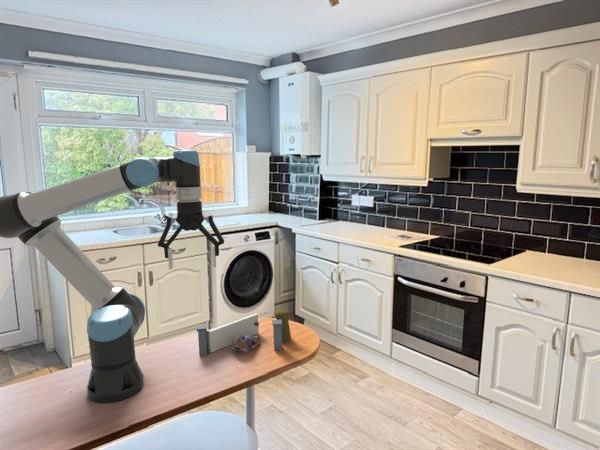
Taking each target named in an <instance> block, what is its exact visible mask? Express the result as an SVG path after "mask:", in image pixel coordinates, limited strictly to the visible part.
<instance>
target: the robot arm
mask: <svg viewBox="0 0 600 450" xmlns="http://www.w3.org/2000/svg"><path fill="white" fill-rule="evenodd" d="M173 182H174V183H175V195H176V196H175V197H176V198H175V199H176V200H177V202H176V212H177V214H176V215H177V216H171V215H169V216H168V217H166V224H165V228H164V229H163V231H162V234H161V236H160V238H159V241H158V243H157V247H159V248H163V250H164V258H165V259H168V269H169V270H172V269H173V268H174V263H173V259H174V258H173V246H171V244H172V243H173V242H174V240H175V239H176V238H177V237H178V235H179V234H180V233H181V232H182V231H185V232H189V231H197V230H198V231H199V232H201V233H202V235H204V236H205V237H206V239H208V240H209V241H210V242H211V243H212V247H211V249H212V250H211V251H212V267H213V268H216V267H217V257H218V256H219V255H220V246H221V245H224V244H225V239H224V237H223V236H222V234H221V232H220V230H219V228H218V227H217V225H216V223H215V221H214V216H213V215H212V214H209V215H207V216H206V215H205V216H204V214H203V205H202V201H201V199H202V186H201V185H202V184H201V164H200V155H199V152H198V151H197V150H194V149H190V150H189V149H185V150H184V149H181V150H179V149H178V150H177V149H176V150H173V154H172V156H168V157H167V156H163V157H162V156H161V157H160V156H154V157H153V156H151V157H150V156H140V157H135V158H133V159H132V160H131V161H127V162H125V163H122V164H118V165H115V166H112V167H109V168H106V169H103V170H100V171H96V172H94V173H90V174H87V175H85V176H81V177H79V178H76V179H73V180H70V181H66V182H63V183H61V184H58V185H54V186H51V187H48V188H46V189H45V188H44V189H42V190H39V191H36V192H34V191H22V192H18V193H14V194H10V195H5V196H4V195H3V196H0V238H6V239H15V238H18V239H19V240H20V241H21V242H22V243H23V244H24V245H25V246H27V247H28V246H30V247H35V249H36V250H37V251H38V252H39V253H41V255H42V256H43V257H44V258H45V260H47V261H48V262H49V263H50V264H51V265H52V266H53V267H54V269H56V270H57V271H58V272H59V274H61V276H62V277H64V278H65V280H66V281H67V282H68V283H69V284H70V285H71V286H72V287H73V288H74V289H75V290H76V291H77V292H78V293H79V294H80V295H81V296H82V297H83V298H84V299H85V300H86V302H88V303H89V305H90V306H91V308H90V314H89V316H88V318H87V322H86V323H87V325H86V332H87V337H88V346H89V347H88V348H89V354H90V355H89V357H90V361H91V362H90V363H91V364H90V365H91V370H90V374H89V379H88V383H87V386H86V390H87V398H88V399H89V400H90V401H92V402H95V403H101V404H102V403H103V404H107V403H115V402H119V401H123V400H126V399H128V398H130V397H132V396H134V395H136V394H137V393H138V392H139V391H141V389H142V388H143V386H144V385H145V379H144V377H145V376H144V374H143V372H142V369H141V367H140V366H139V363H138V361H137V359H136V348H135V336H136V335H137V333H138V331H139V329H140V328H141V327H142V325H143V323H144V320H145V316H146V306H145V303H144V302H143V300H142V299H141V298H140V296H138V295H136V294H133V293H129V292H127V290H126V289H125V288H124V287H123V286H116V285H114V284H113V283H112V282H111V281H110V280H109V278H108V277H107V276H106V275H105V274H104V273H103V272H102V270H101V269H99V268H98V267H97V266H96V265H95V263H94V262H92V260H91V259H90V258H89V257H88V256H87V255H86V254H85V253H84V252H83V251H82V250H81V248H79V246H77V244H76V243H75V242H74V241H73V240H72V239H71V237H69V236H68V234H67V233H65V231H63V229H62V228H61V227H62V226H61V224H62V220H61V219H60V218H59V217H58V216H61V215H64V214H67V213H70V212H72V211H75V210H79V209H81V208H84V207H87V206H90V205H94V204H95V203H96V204H97V203H99V202H103V201H104V200H108V199H111V198H113V197H116V196H120V195H123V194H126V193H128V192H131V191H132V192H133V191H135V190H139V189H141V188H144V187H148V186H152V185H153V184H156V183H173ZM204 221H205V222H206V223H207V224H209V226H210V228H211V230H212V232H213V233H214V235H215V236H216V238H217V239H216V238H215V237H214V236H213V235H212V234H211V233H210V232H209V230H208V229H206V227H205V226H204V225H203V222H204ZM175 222H176V223H177V225H179V227H178V228H177V229H176V230H175V231H174V233H173V234H172V235H171V236H170V238H169V239H168V240H167V241H166V238H167V236H168V234H169V231H170V230H171V227H172V225H174V223H175ZM165 241H166V242H165Z"/></svg>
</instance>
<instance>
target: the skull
mask: <svg viewBox="0 0 600 450" xmlns="http://www.w3.org/2000/svg"><path fill="white" fill-rule="evenodd" d="M260 343H261V339H260V335H253V336H248V335H238V336H237V337H236V338H235V339H234V340H233V341H232V344H231V350H232V351H236V352H243V353H247V352H251V351H252V350H254V349H256V348H258V346H259V344H260Z"/></svg>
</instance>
